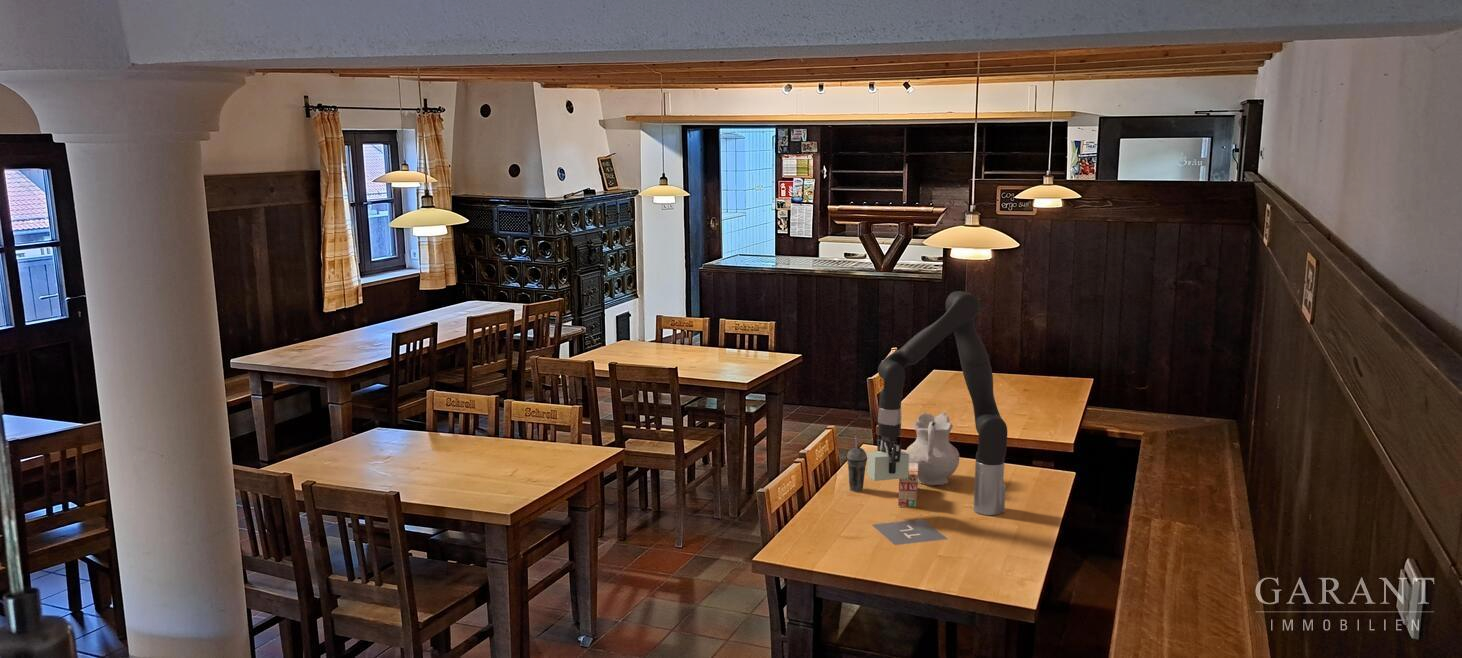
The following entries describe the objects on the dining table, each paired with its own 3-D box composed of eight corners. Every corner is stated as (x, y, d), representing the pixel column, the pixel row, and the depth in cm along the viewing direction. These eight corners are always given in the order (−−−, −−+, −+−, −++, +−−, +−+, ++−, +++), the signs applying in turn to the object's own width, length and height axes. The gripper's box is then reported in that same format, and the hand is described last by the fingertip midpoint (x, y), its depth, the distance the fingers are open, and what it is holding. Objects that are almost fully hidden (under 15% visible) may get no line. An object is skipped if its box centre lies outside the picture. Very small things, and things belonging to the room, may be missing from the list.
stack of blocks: (899, 487, 375) (900, 454, 373) (917, 488, 374) (918, 455, 372) (898, 507, 354) (899, 472, 352) (916, 508, 353) (918, 473, 351)
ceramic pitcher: (962, 494, 370) (970, 426, 366) (907, 490, 370) (915, 422, 366) (950, 475, 392) (958, 411, 387) (898, 471, 392) (906, 406, 387)
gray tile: (922, 520, 342) (922, 519, 342) (948, 539, 325) (948, 538, 325) (871, 525, 337) (871, 524, 337) (894, 545, 320) (894, 544, 320)
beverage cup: (869, 488, 373) (871, 434, 370) (861, 494, 367) (862, 439, 363) (851, 485, 377) (852, 431, 373) (842, 490, 371) (843, 436, 367)
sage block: (867, 475, 346) (867, 452, 345) (900, 472, 350) (901, 449, 348) (874, 480, 341) (875, 457, 339) (908, 477, 344) (909, 454, 342)
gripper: (870, 416, 348) (868, 464, 350) (888, 427, 334) (886, 477, 337) (890, 414, 350) (889, 463, 353) (909, 425, 336) (907, 476, 339)
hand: (887, 470), depth 345 cm, fingers closed on sage block, 6 cm apart
